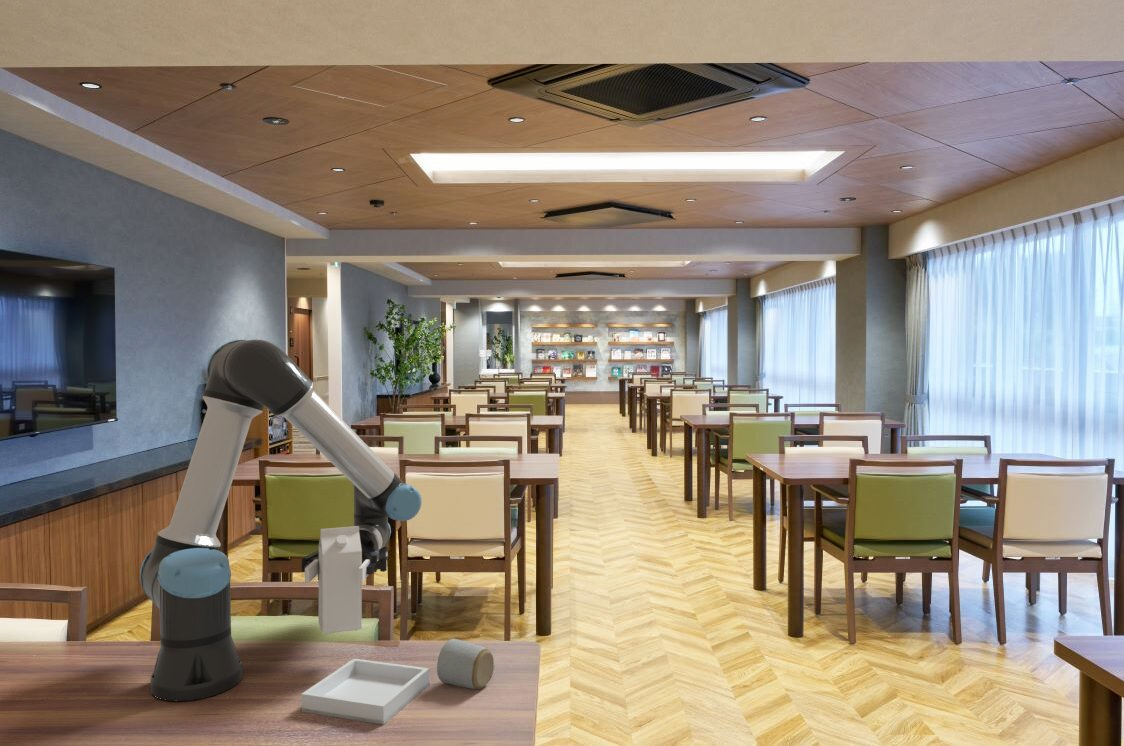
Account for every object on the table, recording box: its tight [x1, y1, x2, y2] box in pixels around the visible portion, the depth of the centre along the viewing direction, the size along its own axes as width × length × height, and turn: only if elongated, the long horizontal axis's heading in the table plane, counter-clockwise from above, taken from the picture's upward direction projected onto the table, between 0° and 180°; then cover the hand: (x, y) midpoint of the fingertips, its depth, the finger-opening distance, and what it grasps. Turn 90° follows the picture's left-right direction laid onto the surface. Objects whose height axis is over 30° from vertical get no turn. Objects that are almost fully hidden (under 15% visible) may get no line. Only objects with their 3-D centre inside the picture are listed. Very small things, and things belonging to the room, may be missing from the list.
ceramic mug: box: [436, 638, 495, 690], centre depth 141 cm, size 11×8×8 cm
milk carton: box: [318, 525, 363, 635], centre depth 149 cm, size 7×7×19 cm
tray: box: [301, 658, 430, 725], centre depth 135 cm, size 16×16×3 cm
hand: (333, 575), depth 144 cm, fingers closed on milk carton, 9 cm apart
